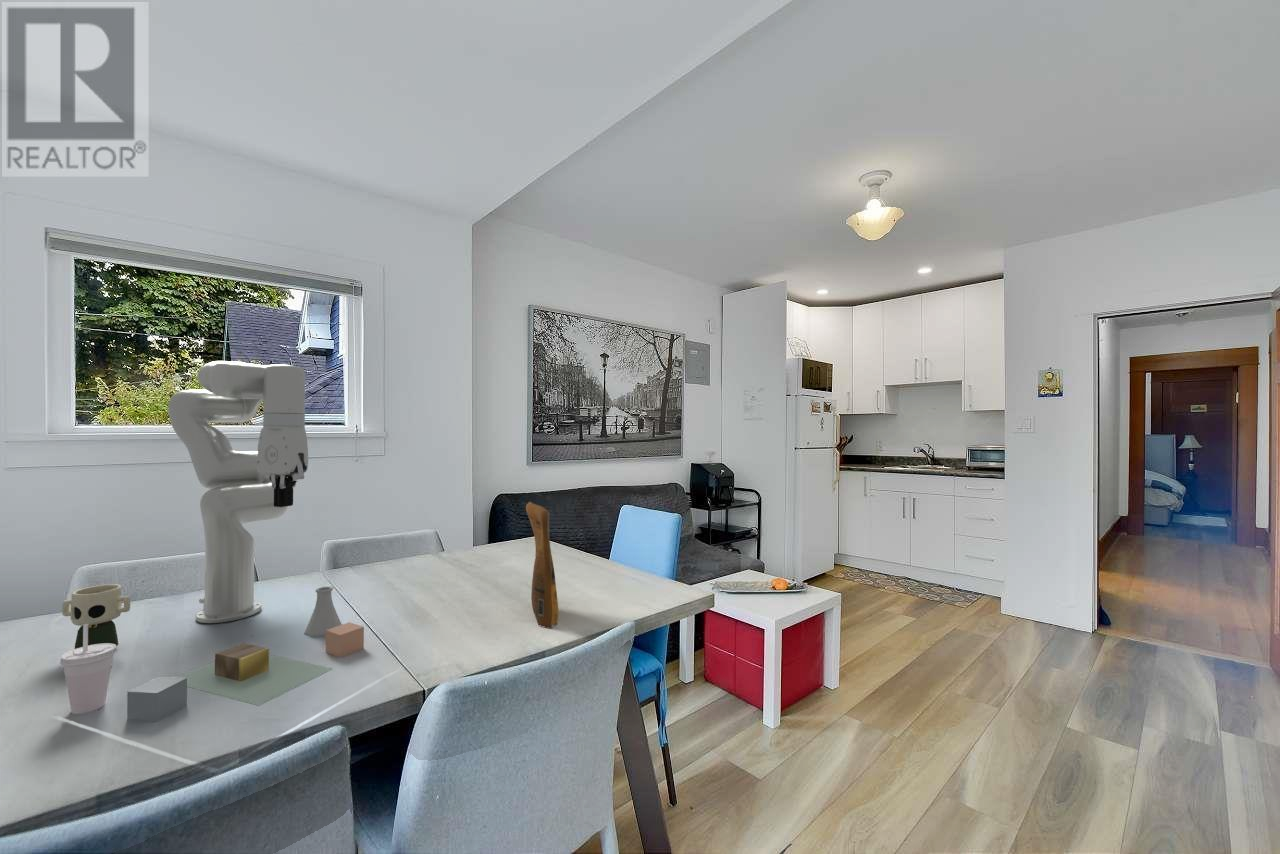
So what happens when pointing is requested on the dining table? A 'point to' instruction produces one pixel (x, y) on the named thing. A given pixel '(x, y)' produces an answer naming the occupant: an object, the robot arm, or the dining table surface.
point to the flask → (323, 614)
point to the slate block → (156, 699)
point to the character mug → (96, 612)
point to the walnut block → (241, 662)
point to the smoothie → (88, 674)
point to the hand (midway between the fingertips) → (283, 505)
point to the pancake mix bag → (543, 569)
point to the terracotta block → (344, 639)
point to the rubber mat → (255, 680)
